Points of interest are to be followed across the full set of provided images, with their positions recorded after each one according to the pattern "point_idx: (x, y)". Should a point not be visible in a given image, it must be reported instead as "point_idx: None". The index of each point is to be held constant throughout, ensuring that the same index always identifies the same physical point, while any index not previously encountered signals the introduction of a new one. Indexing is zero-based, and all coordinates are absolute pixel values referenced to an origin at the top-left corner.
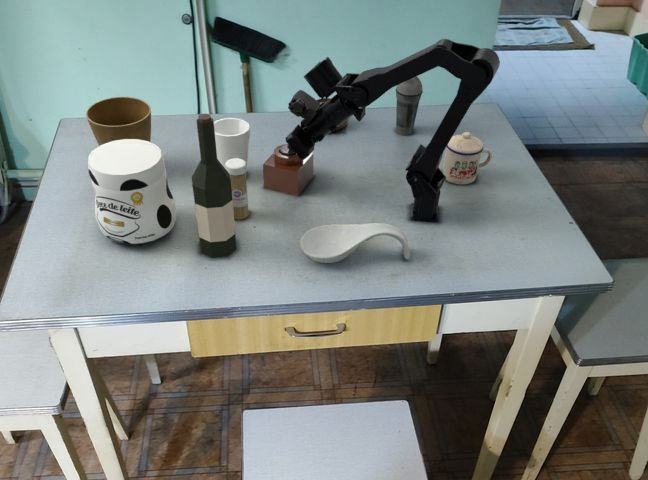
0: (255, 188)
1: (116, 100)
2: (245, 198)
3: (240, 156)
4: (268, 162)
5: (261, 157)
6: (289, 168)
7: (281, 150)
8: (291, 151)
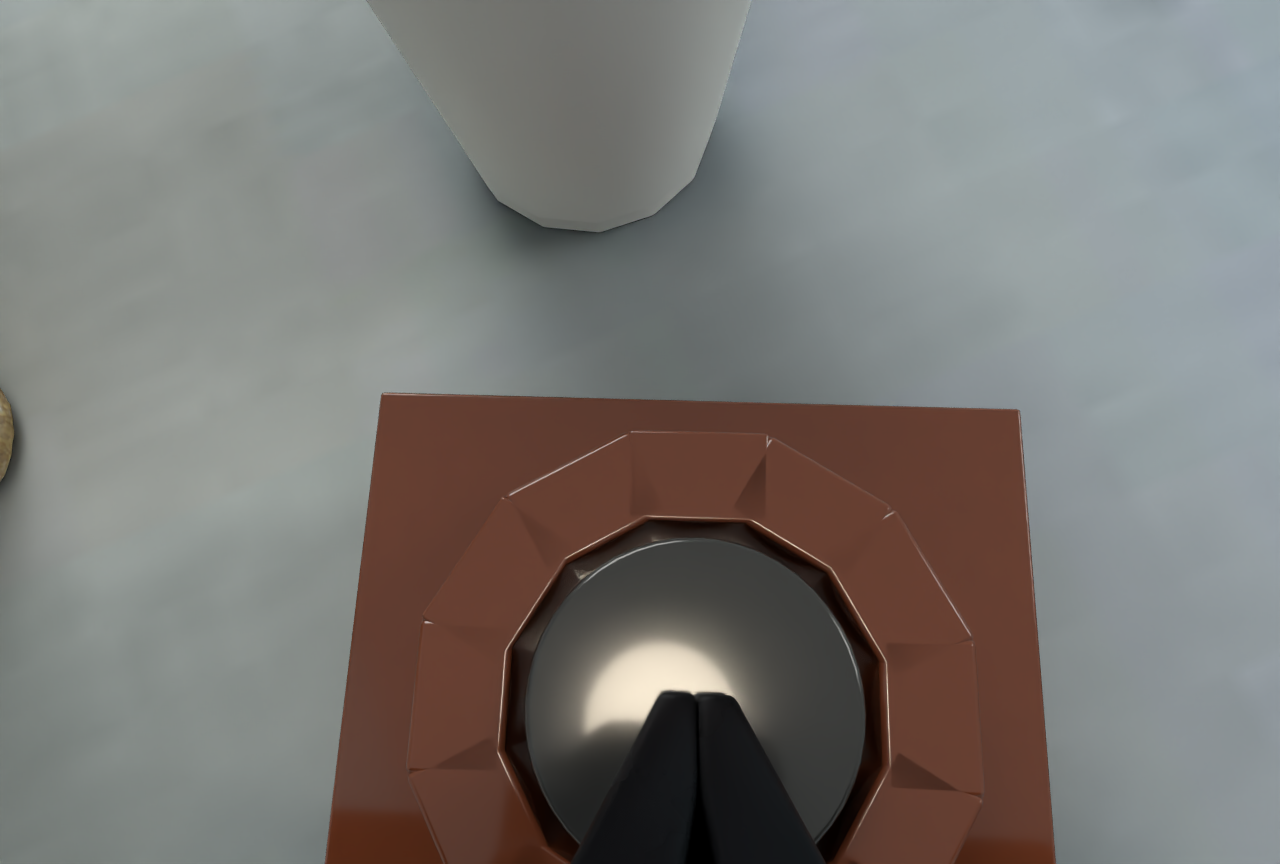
0: None
1: None
2: None
3: (419, 43)
4: (457, 445)
5: (1038, 214)
6: (378, 846)
7: (599, 589)
8: None
